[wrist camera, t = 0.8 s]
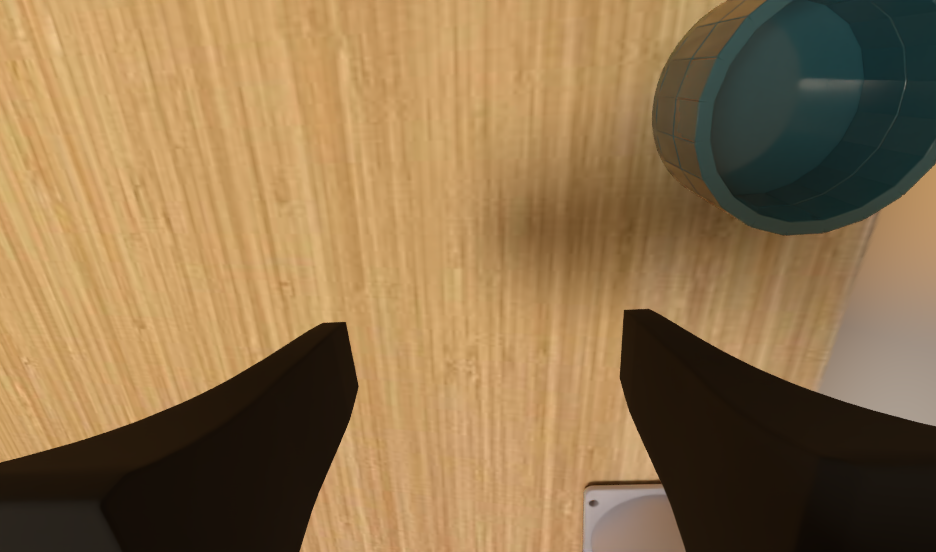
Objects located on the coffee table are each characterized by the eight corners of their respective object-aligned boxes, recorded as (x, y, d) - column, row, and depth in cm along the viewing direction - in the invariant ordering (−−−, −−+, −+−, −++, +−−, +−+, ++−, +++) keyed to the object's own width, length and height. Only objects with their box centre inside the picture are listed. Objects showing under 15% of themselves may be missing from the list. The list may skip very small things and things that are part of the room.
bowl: (838, 195, 20) (930, 227, 16) (645, 208, 20) (684, 242, 16) (890, -27, 17) (1020, -59, 13) (659, -3, 17) (711, -26, 13)
